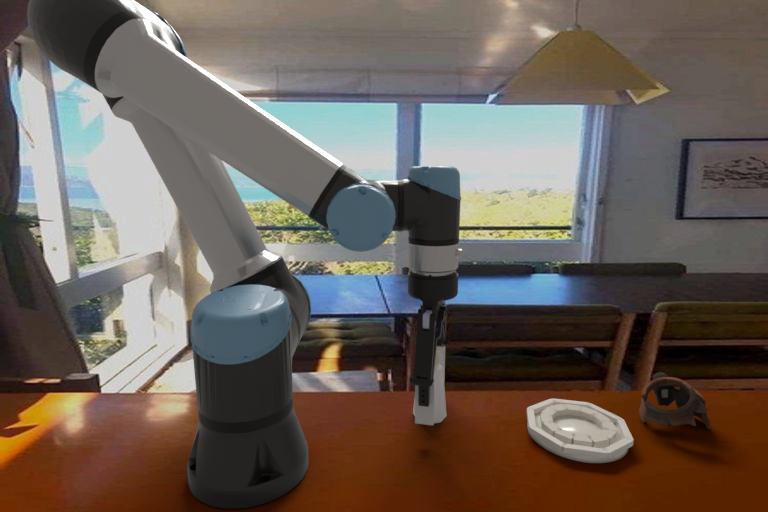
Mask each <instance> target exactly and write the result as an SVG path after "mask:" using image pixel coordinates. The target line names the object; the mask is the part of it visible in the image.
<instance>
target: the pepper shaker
mask: <svg viewBox="0 0 768 512" xmlns="http://www.w3.org/2000/svg"><path fill="white" fill-rule="evenodd" d="M439 356H440V351H439V350H438V349H436V358H435V368H434V378H433V379H434V381H435V402H434V424H439V423H442V422H443V421H444V420H445V419H446V418H447V417H448V416H447V415H448V414H447V405H446V404H447V403H446V389H445V381H444V376H443V367H442V366H441V365H440V363H439V359H440V357H439ZM413 400H414V401H413V408H412V414H413V416H414V417H415V398H414V399H413Z"/></svg>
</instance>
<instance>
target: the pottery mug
mask: <svg viewBox="0 0 768 512" xmlns="http://www.w3.org/2000/svg"><path fill="white" fill-rule="evenodd" d="M675 387H677V388H675ZM651 391H653V393H654V395H655V397H656V398H655V399H656V401H657V405H658V406H660V407H661V406H664V407H666V406H667V407H669V406H670V405H672V404H673V403H674V401H675V405H676V408H673V409H672V408H671V409H666V408H665V409H664V408H660V407H657V406H655V405H653V404H652V403H651V402H650V401H649V400H648V397H649V396H648V395H649V394H650V392H651ZM640 393H641V394H640V395H641V398H640V406H639V409H638V413H639V416H640V419H641V421H642V423H646V422H648V423H652V424H655V425H659V426H664V427H671V426H672V427H679V426H684V425H691V426H693V427H697V424H696V419H695V417H697V418H699V419H700V420H701V421H702V423H703V424H704V426H705V428H706V429H707V430H711V423H712V421H711V420H712V419H711V417H710V415H709V413H708V411H709V410H708V407H706V403H707V401H706V398H705V396H703V395H702V394H701V393H700V391H698V390H696V389H695V388H694V387H693V386H692V385H691V384H690V383H689V382H687V381H685V380H683V379H681V378H678V377H674V376H669V375H668V374H666V373H665V372H661V371H659V372H656V373H654V374H653V375H652V380H651V381H649V382H647V383H646V384H645V385H644V386H643V388H642V389H641V392H640Z"/></svg>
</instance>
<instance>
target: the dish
mask: <svg viewBox="0 0 768 512" xmlns="http://www.w3.org/2000/svg"><path fill="white" fill-rule="evenodd" d="M526 420H527V423H526V424H527V426H526V427H527V432H528V435H529V436H530V438H532V439H533V440H534V442H535V443H537V444H538V445H539V446H541V448H543V449H545V450H547V451H548V452H550V453H552V454H554V455H557V456H559V457H561V458H565V459H568V460H571V461H574V462H575V461H576V462H579V463H580V462H581V463H587V464H605V463H612V462H615V461H618V460H620V459H621V460H622V458H623V457H624V458H625V456H626V455H627V453H628V452H629V448H632V447H633V446H634V442H635V441H634V440H635V439H634V437H633V436H632V433H631V432H630V429H629V427H628V425H627V423H626V421H625V419H623V417H620V416H618V415H617V414H615V413H613V412H610V411H609V410H606V409H603V408H602V407H600V406H598V405H596V404H593V403H591V402H588V401H578V400H570V399H561V398H549V399H546V400H543V401H540V402H537V403H535V404H533V405H530V406H527V408H526Z"/></svg>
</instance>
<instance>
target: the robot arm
mask: <svg viewBox="0 0 768 512" xmlns="http://www.w3.org/2000/svg"><path fill="white" fill-rule="evenodd" d="M27 4H28V5H27V12H26V16H27V24H28V28H29V31H30V34H31V36H32V39H33V41H34V43H35V46H36V47H38V50H39V51H40V52H41V53H42V54H43V55H44V56H45V58H46V59H47V60H48V61H49V62H51V63H52V64H53V65H55V66H56V67H57V68H59V69H60V70H62V71H63V72H66V74H69V75H70V76H72V77H74V78H76V79H78V80H79V81H81V82H83V83H85V84H86V85H88V86H90V87H91V88H93V89H94V90H96V91H97V92H98V93H100V94H102V96H103V98H104V100H105V101H106V102H105V103H106V104H107V105H108V107H109V108H110V110H111V112H112V114H113V115H114V116H115V117H116V118H118V119H121V120H123V121H127V122H129V123H130V124H131V125H132V126H133V129H134V131H135V132H136V134H137V136H138V137H139V139H140V141H141V142H142V145H143V147H144V149H145V150H146V152H147V154H148V156H149V158H150V160H151V162H152V163H153V165H154V167H155V169H156V171H157V172H158V174H159V177H160V178H161V180H162V181H163V184H164V185H165V188H166V190H167V191H168V193H169V195H170V197H171V199H172V200H173V202H174V204H175V206H176V208H177V210H178V212H179V214H180V215H181V217H182V219H183V220H184V222H185V225H186V226H187V228H188V230H189V232H190V234H191V236H192V237H193V239H194V241H195V243H196V244H197V247H198V248H199V250H200V252H201V254H202V256H203V257H204V259H205V261H206V263H207V265H208V267H209V269H210V270H211V272H212V275H213V277H212V278H213V279H212V282H211V284H210V287H209V292H210V293H209V294H207V295H205V296H204V297H203V298H201V299H200V300H199V301H198V302H197V303H196V305H195V306H194V308H193V310H192V315H191V326H190V334H189V337H190V338H189V339H190V343H191V346H192V348H191V349H192V358H193V370H194V379H195V380H194V382H195V393H196V403H197V417H198V423H197V428H196V431H195V435H194V439H193V443H192V445H191V446H192V447H191V449H190V452H189V453H190V454H189V457H188V461H187V465H186V466H187V471H186V472H187V482H188V483H187V484H188V489H189V490H190V493H191V494H192V495H193V497H194V498H195V499H197V500H198V501H200V502H201V503H204V504H206V505H208V506H211V507H215V508H217V509H218V508H220V509H229V510H230V509H232V510H233V509H236V510H237V509H247V508H253V507H257V506H260V505H264V504H267V503H269V502H272V501H275V500H276V499H279V498H281V497H283V496H284V495H286V494H288V493H289V492H291V490H293V489H294V488H295V487H296V486H297V485H299V483H300V482H301V481H302V480H303V479H304V477H305V475H306V473H307V471H308V468H309V445H308V441H307V439H306V437H305V435H304V431H303V429H302V427H301V425H300V421H299V420H298V416H297V414H296V411H295V409H294V396H293V395H294V394H293V393H294V392H293V391H294V390H293V368H292V367H293V366H292V365H293V356H294V355H295V352H296V349H297V348H298V346H299V344H300V341H301V338H302V337H303V335H304V334H305V333H306V331H307V329H308V328H309V323H310V321H311V314H312V301H311V296H310V293H309V291H308V289H307V287H306V285H305V284H304V282H303V281H302V280H301V279H300V278H298V277H297V276H296V275H294V274H293V273H291V271H290V270H289V268H288V266H287V263H286V261H285V260H284V257H283V255H282V254H281V253H277V252H274V251H271V250H269V249H268V248H267V246H266V244H265V242H264V241H263V238H262V237H261V235H260V233H259V231H258V229H257V227H256V225H255V223H254V221H253V218H252V217H251V215H250V213H249V211H248V208H247V207H246V206H245V203H244V201H243V200H242V198H241V197H242V196H241V195H240V194H239V192H238V190H237V188H236V186H235V184H234V182H233V179H232V178H231V176H230V174H229V172H228V170H227V167H226V166H225V164H226V165H229V166H230V167H231V168H233V169H235V171H236V170H237V171H238V172H239V173H241V174H242V175H243V176H246V177H247V178H249V179H250V180H251V181H253V182H255V183H257V184H258V185H260V187H262V188H264V189H266V190H267V191H269V192H270V193H272V194H273V195H275V196H277V197H278V198H279V199H281V200H283V201H284V202H286V204H289V205H290V206H292V207H293V208H295V209H296V210H298V211H299V212H301V213H302V214H304V215H306V216H307V217H308V218H310V219H311V220H313V221H314V222H315V223H316V224H318V225H320V226H321V227H322V228H324V229H325V230H328V231H329V233H330V235H331V236H332V237H333V240H335V241H336V243H337V244H339V245H340V246H341V247H343V248H344V249H347V250H349V251H352V252H358V253H359V252H360V253H361V252H362V253H363V252H369V251H373V250H375V249H377V248H379V247H380V246H382V245H383V244H384V243H385V242H386V241H387V240H388V239H389V237H390V235H391V234H392V232H407V233H408V241H407V268H409V269H410V271H409V272H408V273H407V277H408V278H407V292H408V295H409V296H410V297H411V298H413V299H415V300H420V301H421V302H422V303H421V304H420V308H417V309H418V310H417V315H416V319H417V323H416V325H417V327H416V340H415V352H414V365H413V366H414V367H413V377H409V383H410V384H412V385H413V386H414V399H415V416H414V424H417V425H426V426H433V427H434V425H435V423H434V402H435V381H434V379H433V378H434V368H435V358H436V349H438V350H439V351H440V356H439V357H440V359H439V363H440V365H441V366H442V367H443V376H444V382H445V380H446V379H445V378H446V377H445V375H446V371H445V368H446V345H447V346H448V345H450V340H451V339H450V337H447V336H448V332H447V307H448V306H447V305H446V301H450V300H452V299H455V298H456V297H457V295H458V293H459V273H458V272H457V269H458V268H459V257H460V256H463V255H464V251H463V249H462V248H459V245H460V244H459V243H460V221H461V200H462V197H461V177H460V176H461V174H460V171H459V169H458V168H457V167H455V166H453V165H413V166H411V167H410V168H409V170H408V175H407V176H406V177H407V178H405V179H404V178H403V179H397V180H395V179H394V180H389V179H387V180H386V179H367V178H365V177H364V176H362V175H360V174H359V173H357V172H356V171H354V170H353V169H352V168H351V167H348V166H347V165H345V164H343V163H342V162H341V161H339V160H338V159H337V158H335V157H334V156H332V155H331V154H329V153H327V152H326V151H325V150H323V149H322V148H320V147H319V146H317V145H316V144H314V143H313V142H311V141H310V140H308V139H307V138H306V137H304V136H303V135H302V134H300V133H298V132H297V131H295V130H294V129H292V128H290V127H289V126H288V125H286V124H285V123H283V122H282V121H280V120H279V119H277V118H276V117H274V116H273V115H272V114H270V113H269V112H267V111H266V110H264V109H263V108H261V107H259V106H258V105H257V104H255V103H254V102H252V101H251V100H249V99H248V98H247V97H245V96H244V95H242V94H240V93H239V92H238V91H236V90H234V89H233V88H232V87H230V86H229V85H227V84H226V83H224V82H222V81H221V80H220V79H218V78H217V77H215V76H214V75H212V74H211V73H210V72H208V71H206V70H205V69H203V68H202V67H201V66H199V65H198V64H196V63H195V62H193V61H192V60H191V59H189V58H188V53H187V50H186V47H185V45H184V44H185V43H184V42H183V40H182V39H181V37H180V35H179V34H178V32H176V30H175V29H174V27H172V25H171V24H169V22H168V21H167V20H166V19H165V18H163V16H161V15H160V14H159V13H157V12H156V11H153V10H152V9H151V8H149V7H146V6H144V5H142V4H140V2H138V1H136V0H29V1H28V3H27ZM224 163H225V164H224Z"/></svg>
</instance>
